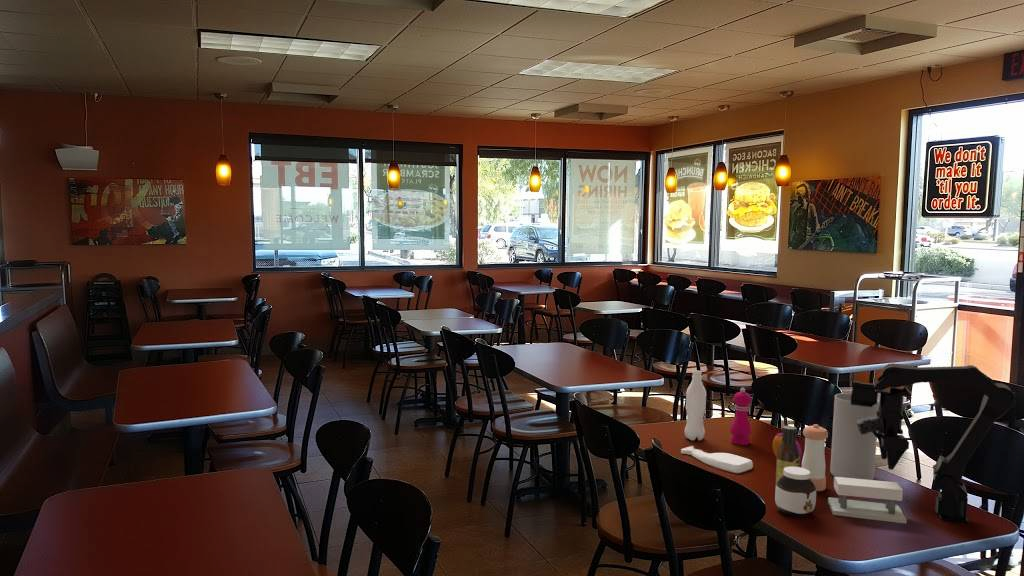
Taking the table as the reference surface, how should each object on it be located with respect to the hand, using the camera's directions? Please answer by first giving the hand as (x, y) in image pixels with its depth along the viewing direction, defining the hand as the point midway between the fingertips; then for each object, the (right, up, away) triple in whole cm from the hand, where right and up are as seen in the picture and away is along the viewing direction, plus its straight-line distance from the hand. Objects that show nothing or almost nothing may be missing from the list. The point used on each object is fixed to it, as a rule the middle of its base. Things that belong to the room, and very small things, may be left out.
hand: (887, 464), depth 205 cm
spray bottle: (-38, -9, +37) cm, 54 cm away
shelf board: (-8, -7, -4) cm, 11 cm away
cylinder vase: (+1, -10, +25) cm, 26 cm away
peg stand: (-8, -12, -4) cm, 15 cm away
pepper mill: (-23, -6, +58) cm, 62 cm away
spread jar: (-27, -12, -2) cm, 30 cm away
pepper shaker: (-15, -11, +15) cm, 24 cm away
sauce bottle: (-25, -11, +8) cm, 29 cm away
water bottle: (-39, -6, +61) cm, 73 cm away
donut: (-15, -9, +36) cm, 40 cm away
